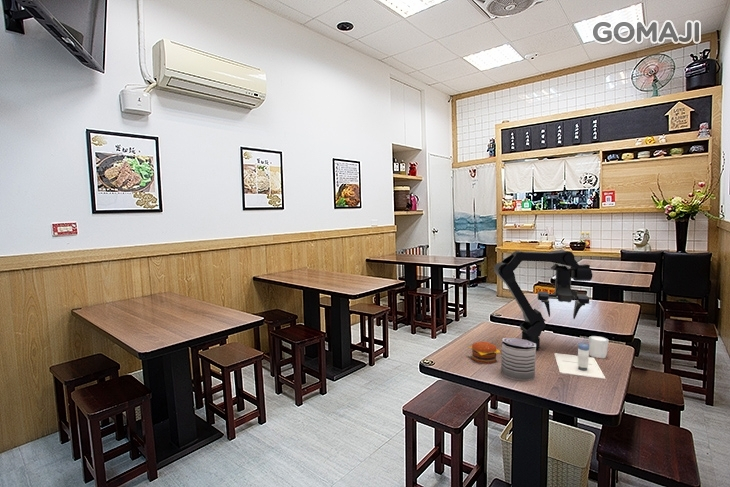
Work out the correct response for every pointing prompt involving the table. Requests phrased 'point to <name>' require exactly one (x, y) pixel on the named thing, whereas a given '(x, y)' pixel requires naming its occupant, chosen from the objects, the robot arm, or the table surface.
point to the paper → (569, 366)
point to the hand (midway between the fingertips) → (561, 317)
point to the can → (518, 359)
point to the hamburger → (484, 352)
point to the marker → (583, 356)
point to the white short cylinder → (598, 346)
